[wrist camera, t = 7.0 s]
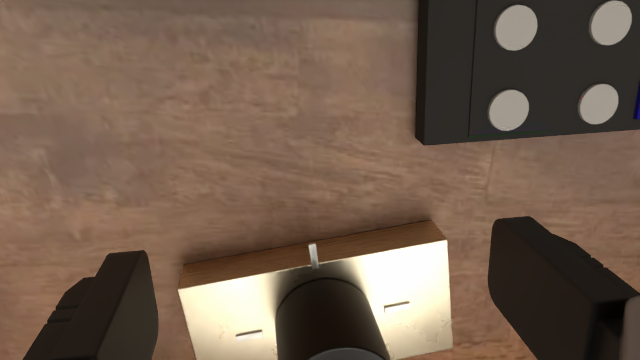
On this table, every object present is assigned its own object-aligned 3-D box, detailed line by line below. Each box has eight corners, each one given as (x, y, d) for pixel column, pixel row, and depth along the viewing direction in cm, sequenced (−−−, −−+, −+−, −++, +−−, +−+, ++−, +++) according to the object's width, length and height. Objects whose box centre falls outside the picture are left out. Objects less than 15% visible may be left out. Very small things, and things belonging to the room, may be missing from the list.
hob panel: (214, 383, 31) (211, 417, 28) (178, 245, 27) (170, 270, 25) (439, 338, 32) (455, 367, 29) (430, 200, 28) (447, 219, 26)
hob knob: (272, 283, 26) (278, 358, 21) (372, 274, 26) (403, 345, 21) (277, 366, 28) (284, 456, 22) (371, 356, 28) (400, 442, 23)
